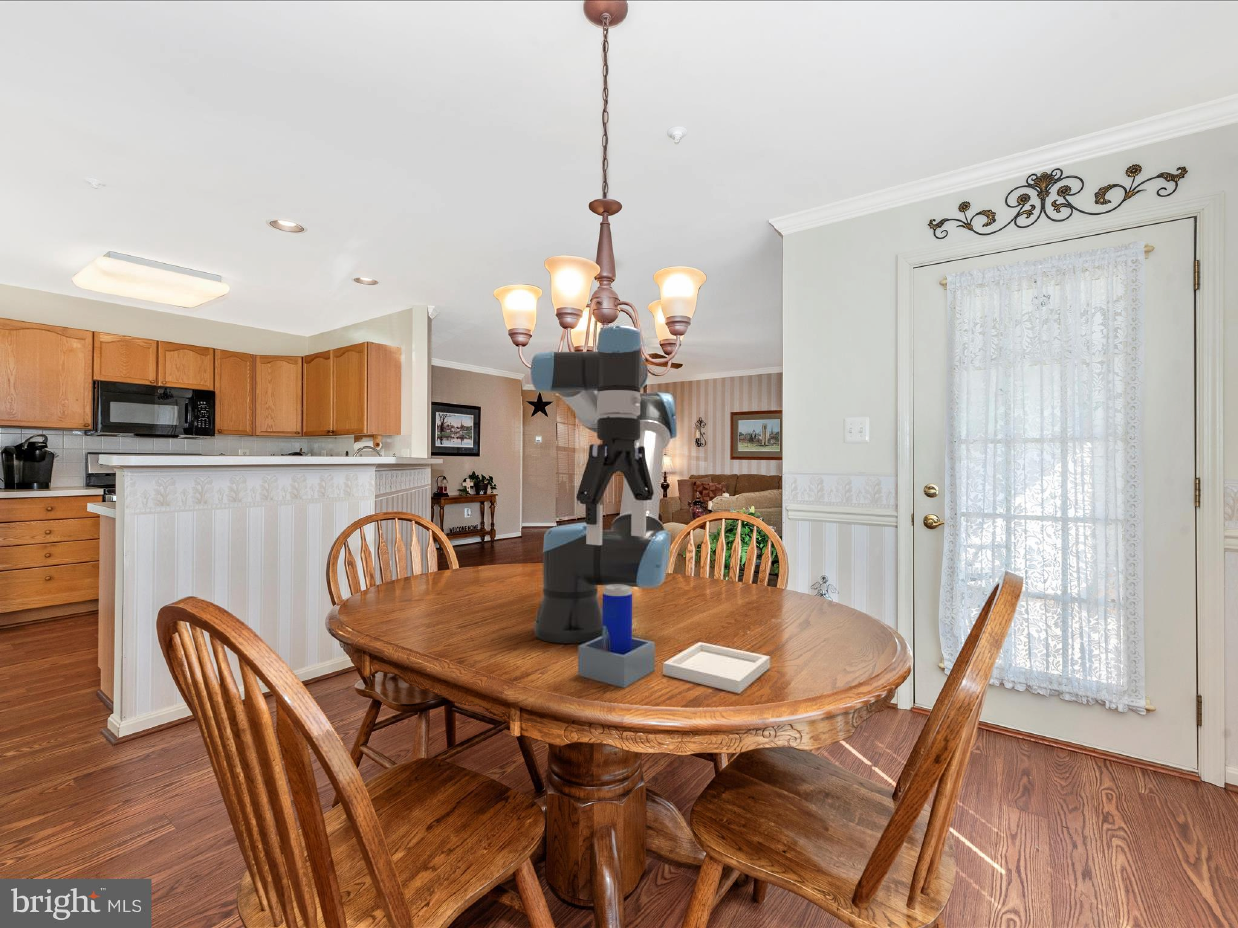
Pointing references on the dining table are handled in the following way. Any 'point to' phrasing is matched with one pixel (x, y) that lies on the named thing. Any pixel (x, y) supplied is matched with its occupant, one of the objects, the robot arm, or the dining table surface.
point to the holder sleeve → (616, 662)
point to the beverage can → (617, 619)
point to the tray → (717, 666)
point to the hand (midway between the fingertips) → (617, 540)
